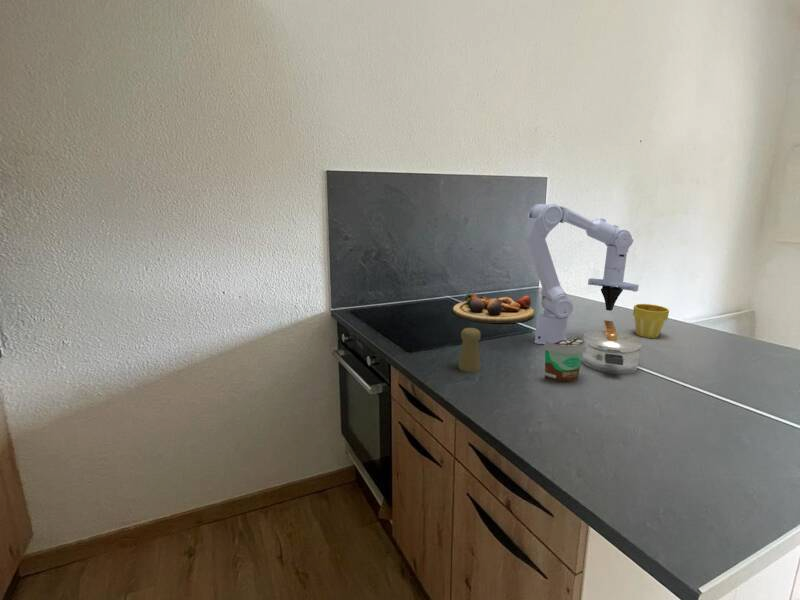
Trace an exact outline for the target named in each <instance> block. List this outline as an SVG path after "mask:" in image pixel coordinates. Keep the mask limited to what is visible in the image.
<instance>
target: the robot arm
mask: <svg viewBox="0 0 800 600" xmlns="http://www.w3.org/2000/svg"><path fill="white" fill-rule="evenodd" d="M526 218H527V224H526V225H527V226H526V230H525V231H526V232H525V240H526V244H527V246H528V249H529V252H530V256H531V258H532V261H533V265H534V266H535V271H536V273H537V276H538V279H539V283H540V286H541V287H542V290H541V291H540V295H541V306H542V308H543V309H544V311H543V313H537V314H536V315H537V316H536V324H535V330H534V344H540V345H544V344H545V342H549V343H556V342H559V341H561V340H567V337H566V336H567V328H568V327H567V326H568V318H569V316H570V315H571V314H572V312H573V309H574V303H573V302H572V300H571V299H570V298H568V295H567V292H566V291H565V290H564V289H563V287H562V286H561V284H560V280H559V277H558V274H557V271H556V269H555V265H554V262H553V259H552V256H551V253H550V250H549V246H548V243H547V240H546V239H547V237H548V235H549V233H550V232H551V231H552V230H554V228H555V227H557V225H559V223H562V224H563V223H567V224H569V225H572V226H575V227H577V228H580V229H582V230H584V231H585V232H586V235H587V237H590V238H592V239H594V240H596V241H599V242H601V243H603V244H604V245H605V246H606V254H605V255H606V256H605V264H604V268H603V269H604V271H603V278H593V277H592V278H588V281H587V285H588V286H596V287H597V286H598V287H601V288H600V292H601V295H602V296H603V299H604V304H605V310H606V311H610V312H611V311H613V310H614V306H615V304H616V302H617V300H618V299H619V296H620V295H621V294H622V292H623V291H624V290H625V291H632V292H639V287H640V286H639V284H636V283H631V282H625V281H624V278H625V270H626V263H627V255H628V253H629V249H630V247H631V246H632V245H633V242H634V239H633V237H632V234H631V232H630V231H629V230H626V229H620V228H619V225H616V224H614V225H613V224H610V223H608V222H607V220H606V219H605V218H601V217H600V218H595V219H593V220H591V219H589V218H587V217H586V216H583V215H582V214H580V213H578V212H575V211H574V210H572V209H570V208H567V207H565V206H560V205H558V204H556V203H550V204H545V203H536V204H534V205H533V206H532V207H531V209H530V211H529V212H528V214H527V217H526Z"/></svg>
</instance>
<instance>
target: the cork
mask: <svg viewBox="0 0 800 600" xmlns="http://www.w3.org/2000/svg"><path fill="white" fill-rule="evenodd" d="M481 334H482V333H481V331H480V330H479V329H477V328H474V327H466V328H463V329H462V330H461V333H460V338H461V340H462V343H461V344H462V345H461V349H460V354H459V360H458V366H457V368H458V369H459V370H460V371H462V372H467V373H473V372H474V373H475V372H478V371H480V370H481V359H480V348H479V341H480V340H481Z"/></svg>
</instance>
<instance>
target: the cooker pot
mask: <svg viewBox="0 0 800 600" xmlns="http://www.w3.org/2000/svg"><path fill="white" fill-rule="evenodd" d="M640 351H641V350H639V351H637V352H630V353H620V352H611V351H605V350H601V349H597V348H594V347H591V346H589V345H587V344H586V351H585V352H583V355H582V360H581V363H582V362H583V363H582V364H584V366H586V367H588V368H590V369H592V370H595V371H599V372H602V373H606V374H607V373H608V374H613V375H628V374H633V373H635V372H636V371H637V369H638V363H639V358H640V357H639V356H640Z"/></svg>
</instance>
